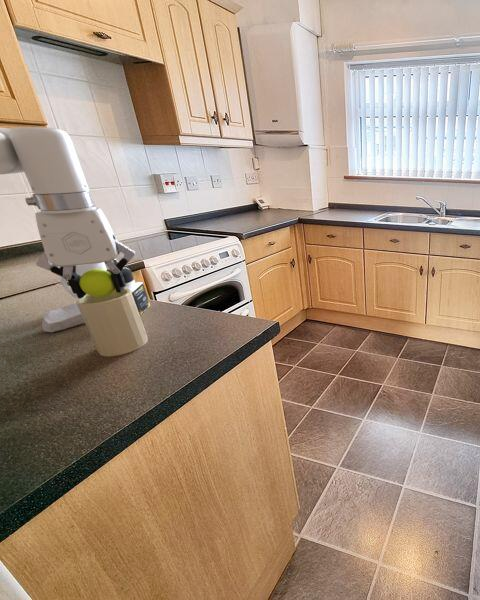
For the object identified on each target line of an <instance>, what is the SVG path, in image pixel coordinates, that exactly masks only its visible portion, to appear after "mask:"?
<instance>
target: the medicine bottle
mask: <svg viewBox="0 0 480 600" xmlns="http://www.w3.org/2000/svg"><path fill="white" fill-rule="evenodd" d="M106 271H107V272H109V273H111V274H112V272H111V270H110V269H109V268H108V269H107V270H106ZM121 271H122V274H123V277H124V280H125V283H126V286H125V287H124V288H127V289H130V290H131V293H132V295H133V298H134V301H135V304H136V306H137V309H138V312H139V315H141V316H142V315H143V314H144V313H145V312H146V310H148V308H149V307H150V306H151V302H150V299H149V297H148V294H147V291H146V288H145V285H144V282H143V281H137V282H136V281H135V278H134V276H133V273H132V269H130V268H128V267H124V268H123V269H122V270H121ZM143 312H144V313H143ZM142 313H143V314H142Z"/></svg>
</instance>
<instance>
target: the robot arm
mask: <svg viewBox="0 0 480 600" xmlns="http://www.w3.org/2000/svg"><path fill="white" fill-rule="evenodd" d="M78 157H79V156H78V154H77V151H76V148H75V145H74V143H73V141H72V138H71V137H70V135H69V133H68V132H66V131H65V130H63V129H60V128H56V127H44V126H17V127H13V128H8V127H2V126H1V127H0V175H10V174H21V173H24V174H25V177H26V179H27V182H28V184H29V186H30V190H31V191H32V196H31V197H25V199H24V200H25V203H26V205H28V206H34V207H37V209H38V210H40V211H38V212H35V214H34V215H35V221H36V226H37V231H38V234H39V237H40V240H41V243H42V248H43V252H42V254H41V255H40V256H39V258H38V259H37V261H36V263H35V265H36V266H37V267H38V268H39V267H40V268H41V269H44V270H47V271H49V272H51V273H53V274H54V275H57V276H59V277H60V278H61V277H63V278H64V279H65V280H66V281H67V283H68V286H69V287H70V288H71V289H72V292H73V293H74V294H77V296H78V297H77V299H78V298H83V297H84V296H85V295H86V293H85V292H84V291H83V290H82V289H81V287H80V284H79V281H80V278H81V276H79V275H77V273H76V265H85V264H94V263H102V262H104V263H105V266H106V267H108V270H109V269H110V270H111V272H112V274H111V279H112V281H113V284H114V287H115V289H116V292H118V293H120V292H122V291H123V289H124V287H125V286H126V283H125V280H124V277H123V274H122V271H121V270H122V269H123V268H125V267H126V265H127V264H128V263H129V262H130V261H132V259H133V258H134V257H135V256H136V254H137V252H136V251H135V250H133V249H132V248H130V247H129V246H127V245H125V243H122V242H121V241H119V240H118V239H117V237H116V235H115V233H114V230H113V228H112V226H111V224H110V222H109V220H108V218H107V216H106V215H105V213H104V212H103V210H102V209H101V208H100V207H96V205H95V201H94V199H93V196H92V193H91V190H90V187H89V185H88V182H87V179H86V177H85V174H84V171H83V169H82V165H81V163H80V160H79V158H78ZM121 253H122V254H123V257H122V258H121V259H120V260H118V259H117V258H118V256H119V255H120V254H121Z"/></svg>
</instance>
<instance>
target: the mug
mask: <svg viewBox="0 0 480 600" xmlns="http://www.w3.org/2000/svg"><path fill="white" fill-rule="evenodd" d="M94 269H101V270H105V271H106V270H108V269H107V265H106V264H105V263H104V262H102V263H94V264H85V265H76V273H77V275H79V276H82V275H83V274H84V273H85V272H87V271H90V270H94ZM60 284H61V286H62V288H63V289H64V290H65V291H66V292H68V294H69V295H71V296H72V297H73V298H75V299H76V298H77V299H78V296H77V294H74V293H73V292H72V289H71V287H70V285H69V284H68V282H67V280H65V279H64V278H63V277H61V276H60ZM86 295H87V294H86Z"/></svg>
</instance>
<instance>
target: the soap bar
mask: <svg viewBox="0 0 480 600" xmlns="http://www.w3.org/2000/svg"><path fill="white" fill-rule="evenodd" d="M41 322H42V323H41V324H42V329H43V331H44V332H46V333H55V332H60V331H64V330H66V329H70V328H73V327H76V326H79V325H83V324H85V322H84V319H83V317H82V315H81V313H80V310H79V308H78V306H77V303H76V302H73V303H71V304H68V305H66V306H61V307H60V308H55V309H52V310H49V311H46V312H44V313H43V315H42V321H41Z"/></svg>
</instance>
